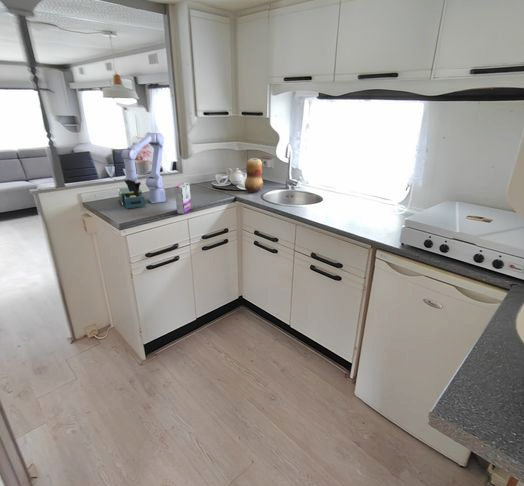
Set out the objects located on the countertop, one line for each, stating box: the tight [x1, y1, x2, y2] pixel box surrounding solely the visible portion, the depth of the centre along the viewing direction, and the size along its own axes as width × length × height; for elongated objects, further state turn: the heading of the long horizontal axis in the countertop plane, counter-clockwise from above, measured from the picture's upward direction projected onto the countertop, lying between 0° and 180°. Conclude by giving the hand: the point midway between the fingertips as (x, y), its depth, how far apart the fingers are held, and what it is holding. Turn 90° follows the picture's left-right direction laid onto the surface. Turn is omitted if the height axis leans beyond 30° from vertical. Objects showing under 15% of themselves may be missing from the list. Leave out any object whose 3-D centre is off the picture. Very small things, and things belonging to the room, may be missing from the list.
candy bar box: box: [174, 182, 193, 215], centre depth 195 cm, size 11×5×16 cm, turn 168°
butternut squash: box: [244, 157, 264, 194], centre depth 239 cm, size 14×13×25 cm
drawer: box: [123, 193, 146, 209], centre depth 204 cm, size 18×11×6 cm, turn 29°
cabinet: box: [117, 187, 143, 207], centre depth 214 cm, size 15×13×8 cm
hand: (133, 192), depth 197 cm, fingers open, 7 cm apart
